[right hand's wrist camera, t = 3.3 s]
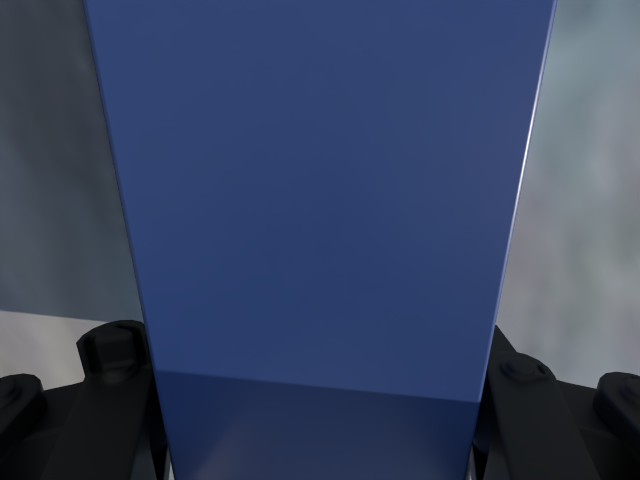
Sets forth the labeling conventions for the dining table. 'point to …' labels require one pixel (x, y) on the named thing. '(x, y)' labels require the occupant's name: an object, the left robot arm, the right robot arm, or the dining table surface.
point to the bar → (319, 220)
